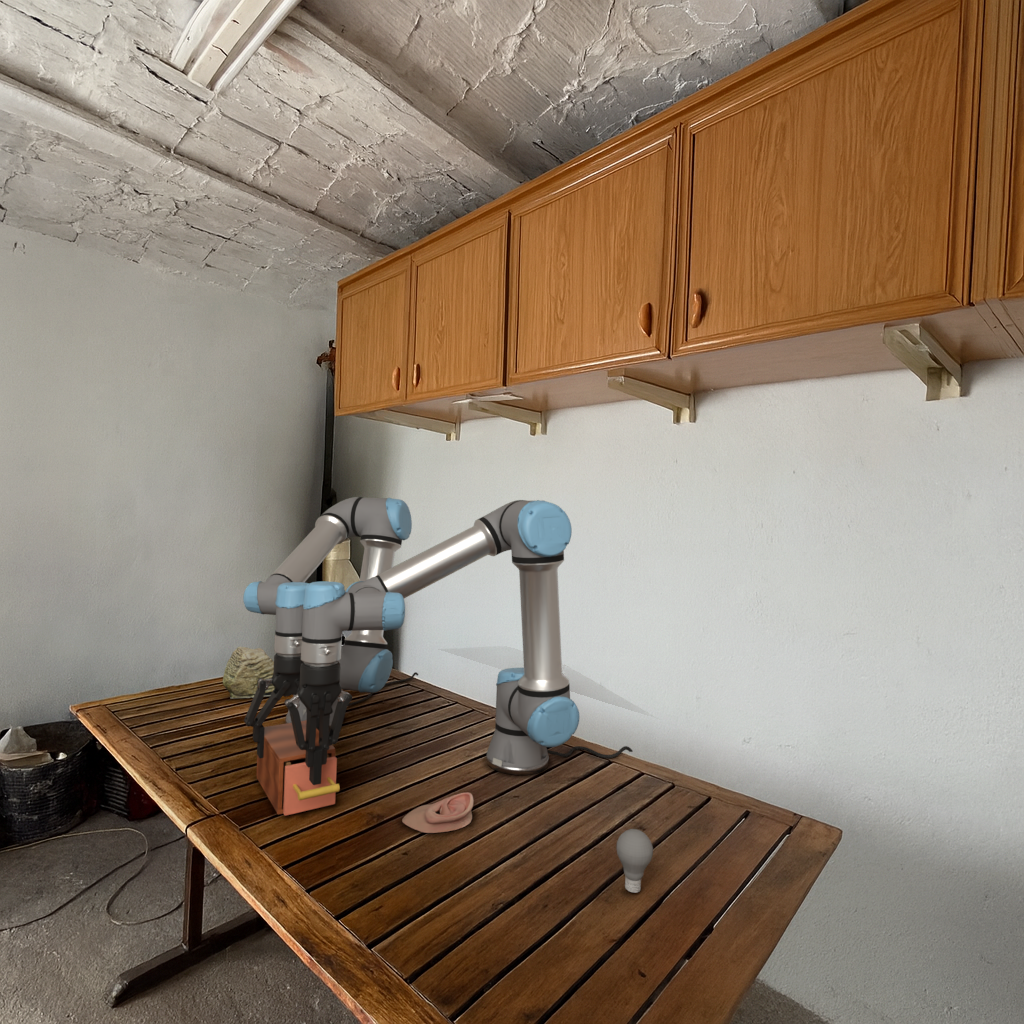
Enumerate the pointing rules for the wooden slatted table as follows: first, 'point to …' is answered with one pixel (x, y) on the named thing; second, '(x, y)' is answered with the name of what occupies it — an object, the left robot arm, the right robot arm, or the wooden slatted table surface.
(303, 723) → the cabinet
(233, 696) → the fossil
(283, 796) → the drawer
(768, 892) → the wooden slatted table surface
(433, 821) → the anatomical model
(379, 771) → the wooden slatted table surface
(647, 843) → the light bulb
